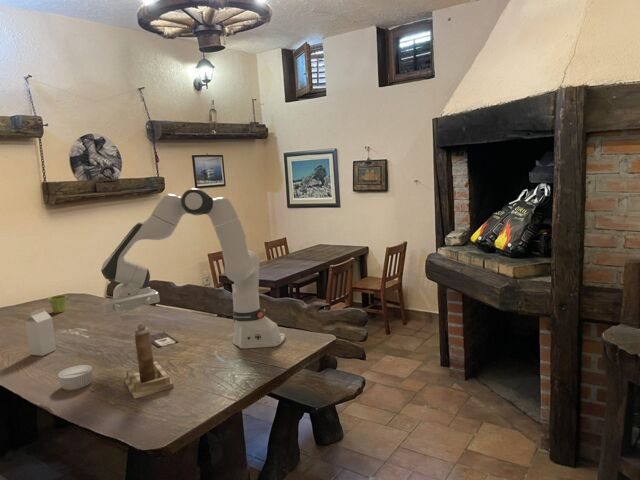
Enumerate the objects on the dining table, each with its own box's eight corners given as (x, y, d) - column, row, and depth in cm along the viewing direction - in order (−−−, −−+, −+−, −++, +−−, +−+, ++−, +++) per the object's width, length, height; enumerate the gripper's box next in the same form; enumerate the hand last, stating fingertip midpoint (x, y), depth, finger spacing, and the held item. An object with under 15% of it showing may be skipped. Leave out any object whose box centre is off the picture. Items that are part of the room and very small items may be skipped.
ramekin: (70, 394, 161) (68, 380, 160) (53, 388, 167) (51, 374, 166) (100, 381, 171) (98, 367, 170) (82, 376, 176) (81, 362, 176)
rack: (124, 380, 170) (122, 370, 169) (160, 370, 177) (159, 360, 176) (134, 398, 155) (132, 387, 154) (173, 387, 162) (172, 376, 161)
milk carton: (56, 350, 206) (50, 308, 204) (42, 356, 200) (35, 313, 197) (44, 349, 209) (38, 307, 206) (30, 355, 202) (23, 312, 199)
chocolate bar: (164, 331, 221) (178, 341, 207) (164, 333, 221) (178, 343, 207) (144, 336, 216) (157, 346, 201) (145, 338, 216) (158, 348, 202)
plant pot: (57, 309, 277) (55, 295, 275) (72, 309, 275) (70, 294, 274) (46, 314, 267) (44, 299, 266) (61, 314, 266) (59, 299, 265)
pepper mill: (157, 376, 168) (151, 321, 165) (150, 383, 163) (143, 326, 160) (145, 376, 168) (138, 321, 166) (137, 382, 164) (130, 326, 161)
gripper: (98, 296, 179) (102, 303, 167) (153, 285, 189) (161, 291, 177) (101, 312, 179) (105, 320, 168) (156, 301, 190) (163, 307, 178)
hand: (134, 305), depth 172 cm, fingers open, 8 cm apart
